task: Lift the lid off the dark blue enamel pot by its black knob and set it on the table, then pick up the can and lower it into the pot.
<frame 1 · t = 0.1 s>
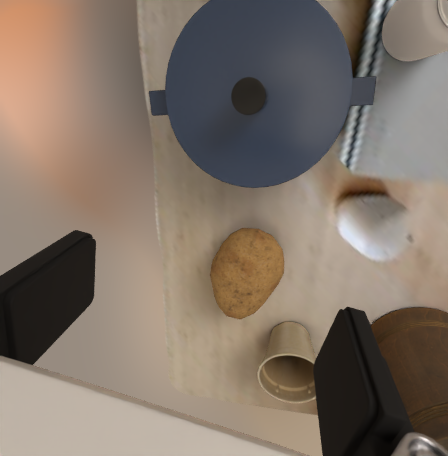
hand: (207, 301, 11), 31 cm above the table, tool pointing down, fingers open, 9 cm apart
potato: (248, 258, 46), on the table
wooden container: (412, 344, 46), on the table
pot: (260, 98, 37), on the table
flower pot: (289, 335, 50), on the table
lid: (254, 97, 29), point 8 cm above the table, touching pot
can: (413, 27, 32), on the table
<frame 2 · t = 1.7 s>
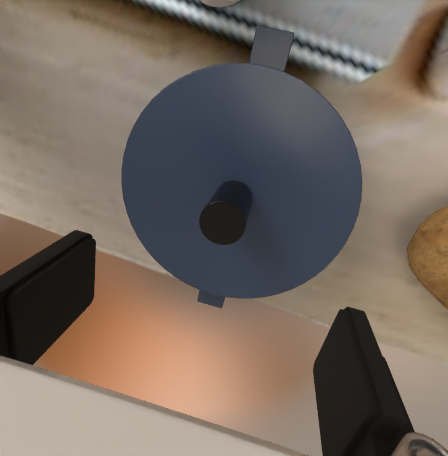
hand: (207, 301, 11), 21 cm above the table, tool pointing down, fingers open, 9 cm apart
pot: (246, 172, 30), on the table
lid: (234, 196, 23), point 8 cm above the table, touching pot
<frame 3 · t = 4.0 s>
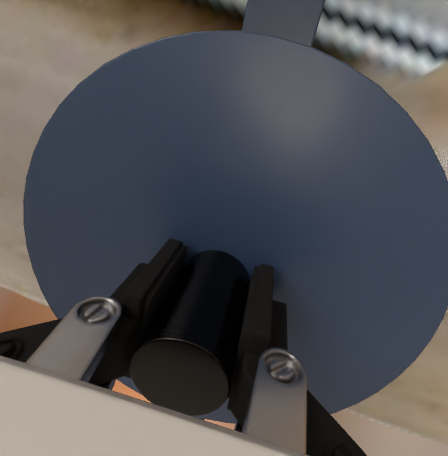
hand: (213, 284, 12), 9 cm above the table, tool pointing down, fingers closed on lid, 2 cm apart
pot: (242, 209, 21), on the table
lid: (218, 273, 13), point 9 cm above the table, touching gripper, pot
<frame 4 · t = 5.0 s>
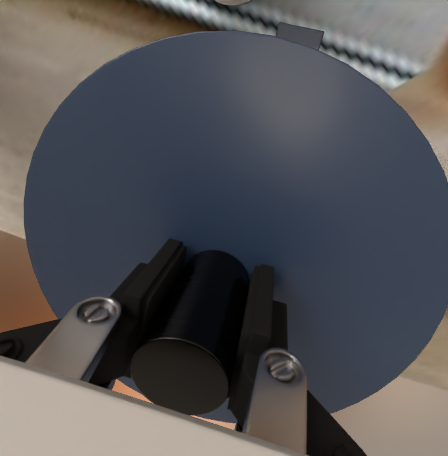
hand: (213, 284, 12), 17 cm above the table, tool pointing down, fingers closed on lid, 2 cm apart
pot: (259, 188, 27), on the table
lid: (218, 273, 13), point 16 cm above the table, touching gripper
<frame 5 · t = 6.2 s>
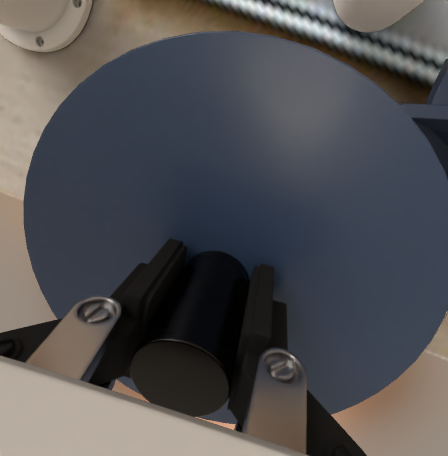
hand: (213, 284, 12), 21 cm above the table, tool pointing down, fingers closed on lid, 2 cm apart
pot: (366, 196, 30), on the table
lid: (218, 273, 13), point 20 cm above the table, touching gripper
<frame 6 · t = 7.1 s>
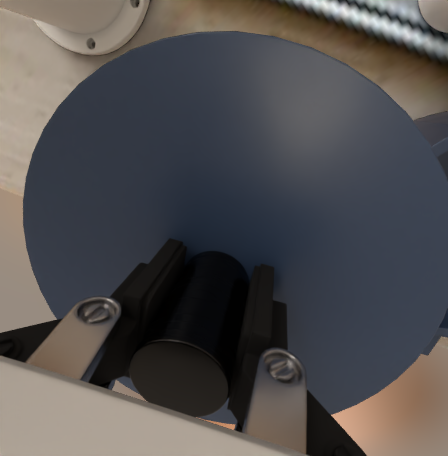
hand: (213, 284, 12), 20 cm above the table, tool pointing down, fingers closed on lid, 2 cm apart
pot: (436, 205, 28), on the table
lid: (218, 274, 13), point 19 cm above the table, touching gripper
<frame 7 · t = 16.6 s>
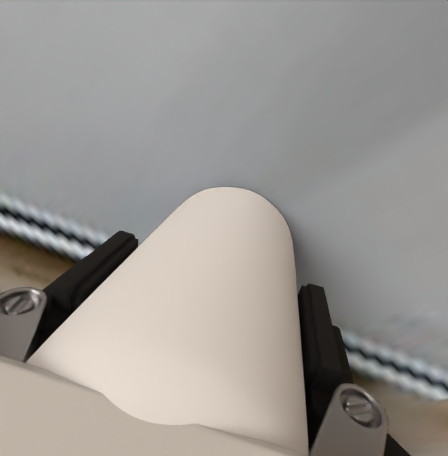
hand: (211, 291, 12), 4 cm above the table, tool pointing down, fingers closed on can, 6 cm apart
can: (230, 242, 16), on the table, touching gripper
when the fingers open (5 cm above the table, at t = 25.2 s): can stays where it is, resting on pot.
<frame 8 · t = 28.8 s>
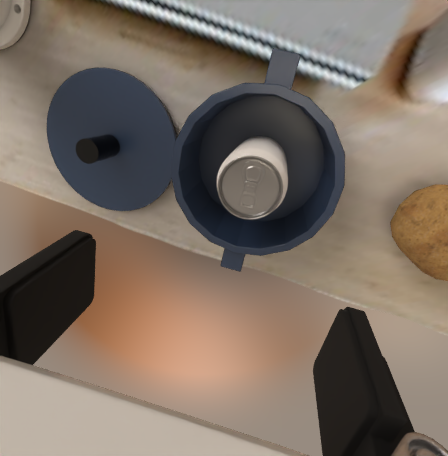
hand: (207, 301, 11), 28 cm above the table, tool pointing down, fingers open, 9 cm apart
potato: (435, 222, 36), on the table
pot: (259, 162, 37), on the table
lid: (111, 145, 39), point 1 cm above the table
can: (259, 162, 37), resting on pot
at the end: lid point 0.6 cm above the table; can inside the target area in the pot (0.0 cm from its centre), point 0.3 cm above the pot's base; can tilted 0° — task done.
